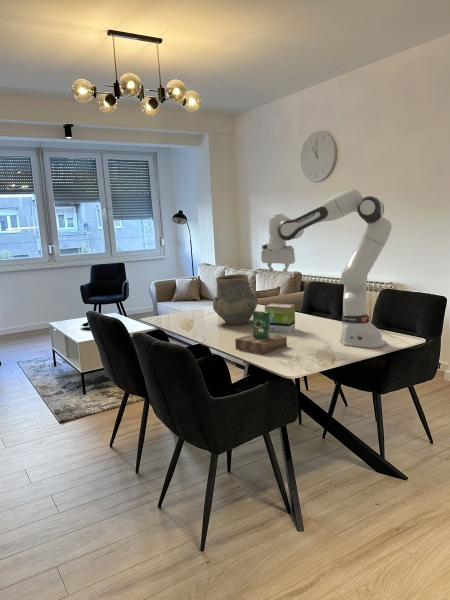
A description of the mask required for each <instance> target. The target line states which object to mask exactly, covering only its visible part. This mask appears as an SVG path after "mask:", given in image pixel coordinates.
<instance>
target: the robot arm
mask: <svg viewBox="0 0 450 600" xmlns="http://www.w3.org/2000/svg"><path fill="white" fill-rule="evenodd" d="M384 212H385V205H384V204H383V202H382V201H381V200H380V199H379V198H378V197H375V196H371V195H368V196H365V197H363V195H362V194H361V192H360V191H359V190H358V189H356V188H350V189H348V190H344V191H341V192H339V193H338V194H335V195H334V196H331V197H330V198H328V199H326V200H325V201H323V203H321V204H320V205H318V206H317V207H316V208H313V209H311V211H308V212H307V213H304V214H302V215H301V216H299V217H296V218H294V219H292V218H290V217H288V216H286V215H285V214H284V213H283V214H282V213H280V214H275V215H272V216H271V217H269V220H268V234H269V235H268V236H269V238H268V242H267V243H265V244H262V245H261V249H262V250H261V255H260V256H261V258H260V259H261V263H262V264H266V265H267V267H268V271H269V272H270V273H271V272H274V268H273V267H272V264H279V265H280V264H281V265H282V264H283V265H284V268H283V269H282V272H283V273H288V268H290V267H289V266H290V265H291V264H295V262H296V256H295V249H294V247H293V246H292V245H287V241H291V240H297V239H299V238H301V237H302V236H303V234H304V232H305V229H307V228H309V227H311V226H313V225H315V224H319V223H322V222H331V221H336V220H338V219H340V218H343V217H345V216H347V215H349V214H352V213H357V214H358V217H360V218H361V219H362V220H364V222H365V223H366V224H367V227H366V229H365V231H364V232H363V235H362V237H361V239H360V241H359V242H358V245H357V246H356V248H355V250H354V251H353V252H352V254H351V256H350V258H349V259H348V261H347V263H346V265H345V267H344V268H343V270H342V272H341V277H340V278H341V281H342V284H343V286H344V287H343V296H342V300H343V301H342V315H341V321H342V330H341V335H340V338H339V342H340V343H342V345H343V346H351V347H358V348H359V347H360V348H368V349H369V348H370V349H378V348H381V347H384V346H386V345H387V344H388V343H387V342H388V341H387V340H384V339H383V336H382V332H381V330H380V329H378V328H377V326H375V325H374V324H373V323H372V322H371V321H370V319H371V317H372V316H371V315H370V316H368V314H367V294H368V292H367V291H368V275H369V273H370V272H371V270H372V268H373V266H374V265H375V262H376V261H377V260H378V257H379V256H380V254H381V252H382V251H383V248H384V247H385V245H386V243H387V242H388V239H389V237H390V234H391V232H392V229H393V225H392V223H391V221H390V220H389V219H387V218H386V217H384V216H383V214H384Z"/></svg>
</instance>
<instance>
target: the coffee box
mask: <svg viewBox="0 0 450 600" xmlns="http://www.w3.org/2000/svg"><path fill="white" fill-rule="evenodd" d="M252 327H253V329H252V331H253V332H252V334H253V337H255V338H269V334H270V331H269V312H265V311H259V310H258V311H257V310H255V311H254V312H253V315H252Z"/></svg>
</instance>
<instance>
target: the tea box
mask: <svg viewBox="0 0 450 600" xmlns="http://www.w3.org/2000/svg"><path fill="white" fill-rule="evenodd" d="M264 312H269V332H270V331H271V332H280V333H281V332H282V333H287V334H288V333H291V332H293V331H294V330H295V329H296V305H295V304H289V303H287V304H286V303H273V302H271V303H269V304H267V305H264Z"/></svg>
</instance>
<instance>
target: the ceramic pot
mask: <svg viewBox="0 0 450 600" xmlns="http://www.w3.org/2000/svg"><path fill="white" fill-rule="evenodd" d="M215 280H216V296H214V299H213V301H212V309H213V311H215V313H216V314H217V316H219V317H220V318H221V319H222V320H224V322H225V323H227V324H229V325H235V326H236V325H244V324H247V323H248V322H249V321H250V320H251V318H253V312H254V311H256V309H257V307H258V302H259V300H258V296H257V294H256V293H255V292H253V291H252V288H251V285H250V282H249V275H248V274H244V273H242V274H241V273H237V274H227V275H226V274H225V275H222V276H218V277H216V278H215Z"/></svg>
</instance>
